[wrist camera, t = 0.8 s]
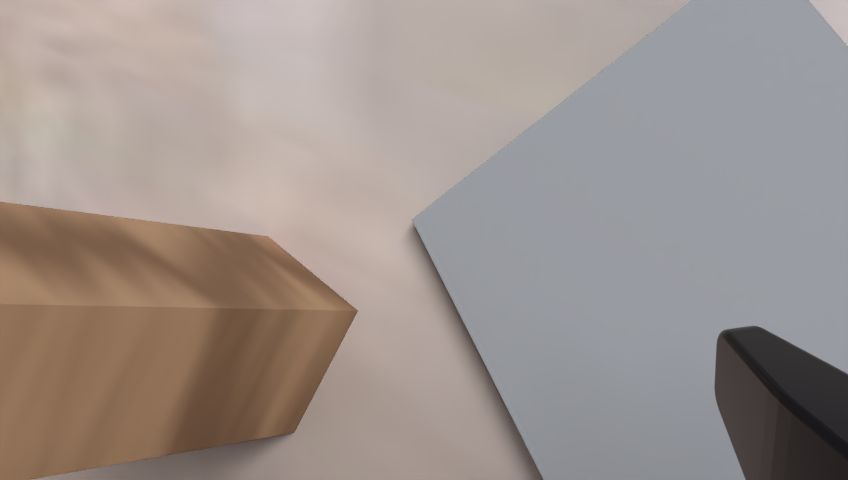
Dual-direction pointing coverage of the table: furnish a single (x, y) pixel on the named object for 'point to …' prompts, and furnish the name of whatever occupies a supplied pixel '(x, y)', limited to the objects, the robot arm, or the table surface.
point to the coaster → (658, 239)
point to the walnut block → (150, 339)
